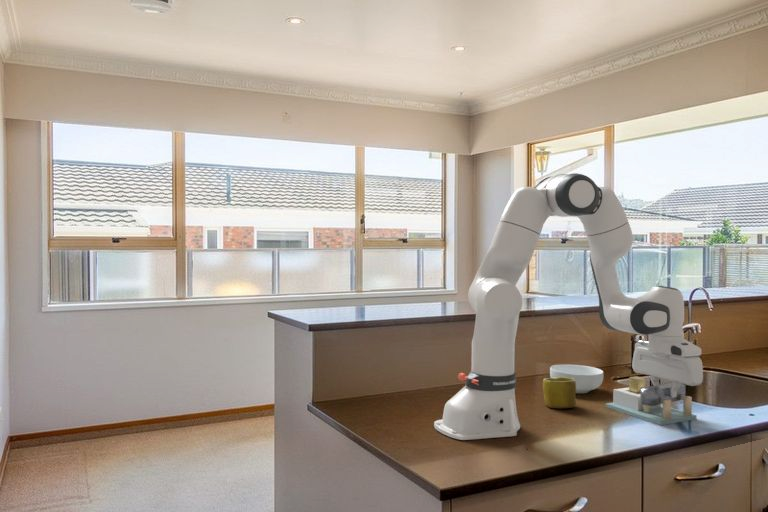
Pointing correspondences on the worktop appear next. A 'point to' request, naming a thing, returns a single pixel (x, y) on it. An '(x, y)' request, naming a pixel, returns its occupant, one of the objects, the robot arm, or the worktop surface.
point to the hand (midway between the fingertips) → (665, 394)
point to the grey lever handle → (660, 394)
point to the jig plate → (653, 415)
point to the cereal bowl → (579, 376)
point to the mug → (559, 392)
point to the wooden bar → (636, 384)
